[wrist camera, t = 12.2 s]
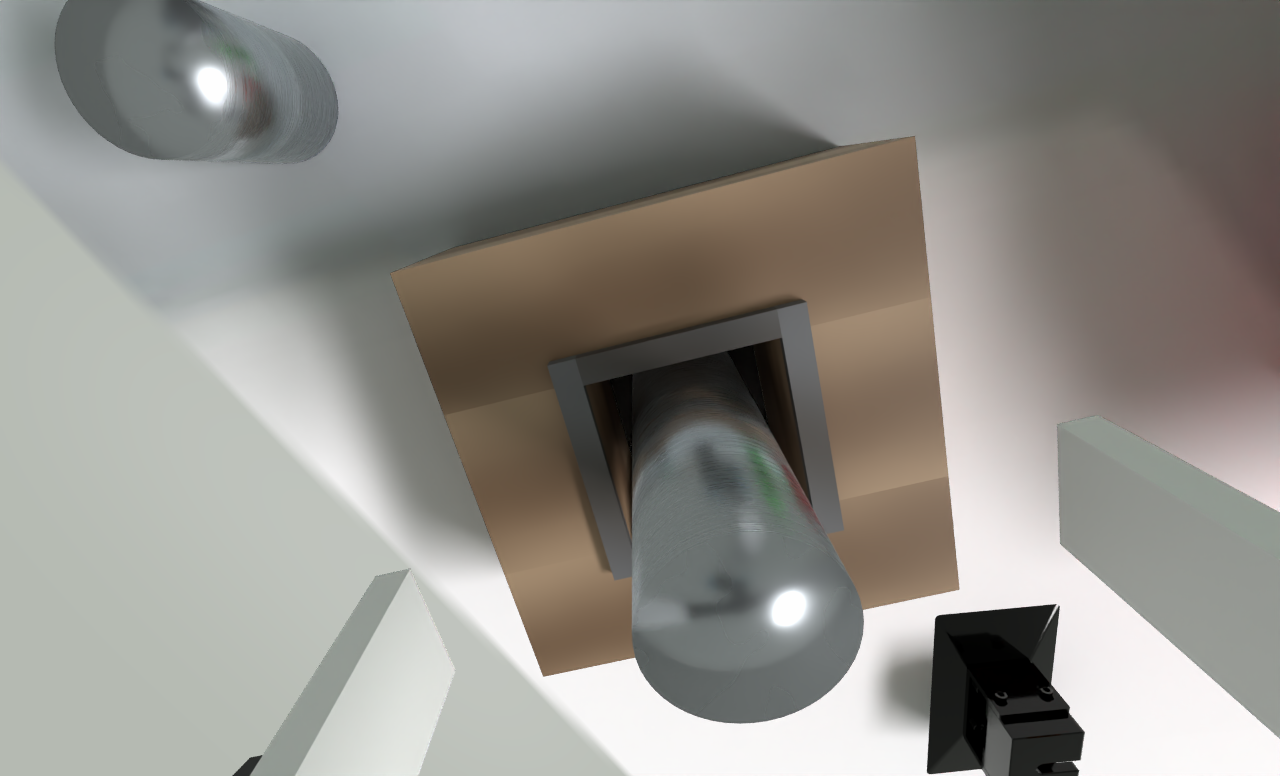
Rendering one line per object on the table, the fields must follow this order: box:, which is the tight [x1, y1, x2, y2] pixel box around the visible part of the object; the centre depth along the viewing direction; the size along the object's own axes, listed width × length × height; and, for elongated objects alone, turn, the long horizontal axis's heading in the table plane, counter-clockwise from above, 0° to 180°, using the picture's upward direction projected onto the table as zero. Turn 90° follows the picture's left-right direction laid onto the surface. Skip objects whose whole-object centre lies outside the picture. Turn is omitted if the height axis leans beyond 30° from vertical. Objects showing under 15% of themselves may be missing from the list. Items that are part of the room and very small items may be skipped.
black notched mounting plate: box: [927, 604, 1085, 776], centre depth 28 cm, size 12×7×5 cm, turn 7°
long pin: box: [632, 351, 864, 723], centre depth 17 cm, size 4×4×14 cm
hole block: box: [390, 136, 959, 677], centre depth 21 cm, size 14×14×6 cm
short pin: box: [55, 0, 338, 164], centre depth 18 cm, size 4×4×6 cm
